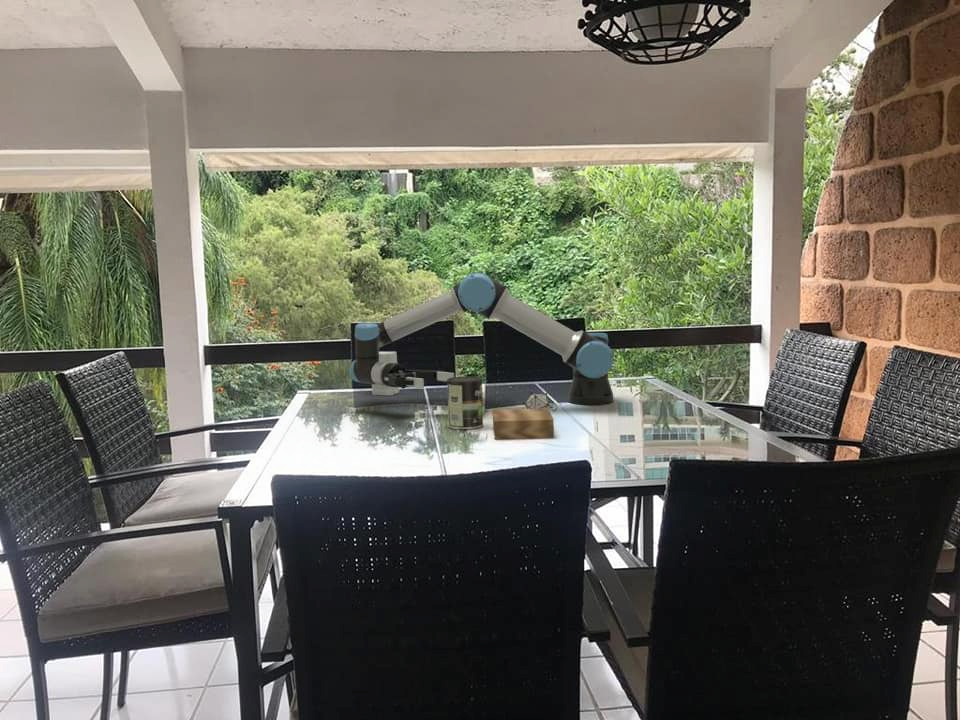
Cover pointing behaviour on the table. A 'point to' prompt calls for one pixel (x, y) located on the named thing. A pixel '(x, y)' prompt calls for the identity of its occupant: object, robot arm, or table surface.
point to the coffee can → (465, 402)
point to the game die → (537, 402)
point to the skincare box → (386, 390)
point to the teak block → (523, 424)
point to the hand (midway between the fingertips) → (438, 380)
